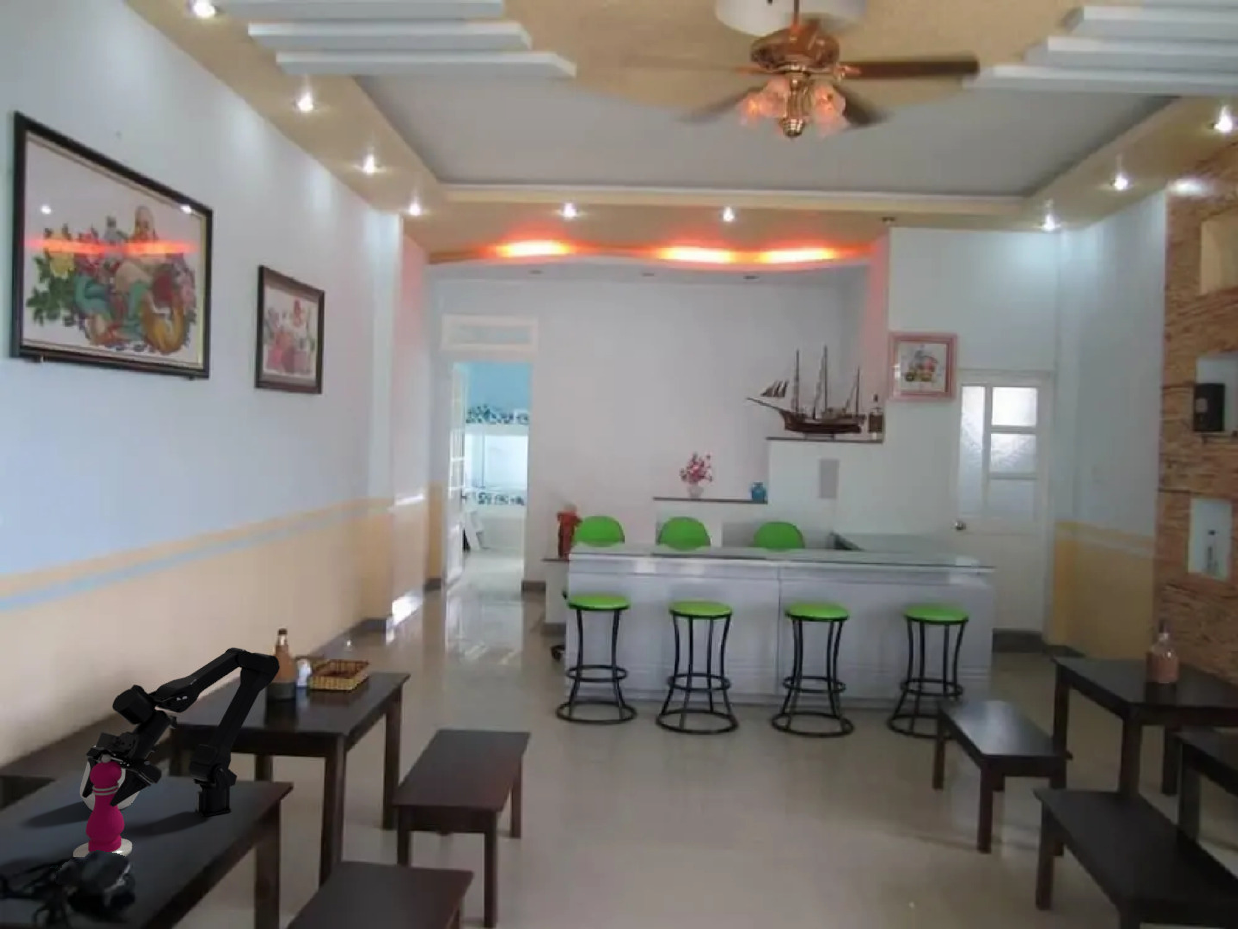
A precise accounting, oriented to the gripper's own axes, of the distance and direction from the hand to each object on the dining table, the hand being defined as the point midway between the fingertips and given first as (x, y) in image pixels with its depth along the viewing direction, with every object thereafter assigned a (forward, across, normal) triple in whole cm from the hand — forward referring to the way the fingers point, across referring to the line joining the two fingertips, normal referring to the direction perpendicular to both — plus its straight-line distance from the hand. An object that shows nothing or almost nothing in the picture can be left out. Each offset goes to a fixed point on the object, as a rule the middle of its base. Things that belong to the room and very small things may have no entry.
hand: (97, 801), depth 205 cm
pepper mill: (+6, 0, +9) cm, 11 cm away
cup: (-5, -23, +22) cm, 33 cm away
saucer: (+7, 0, +9) cm, 12 cm away
